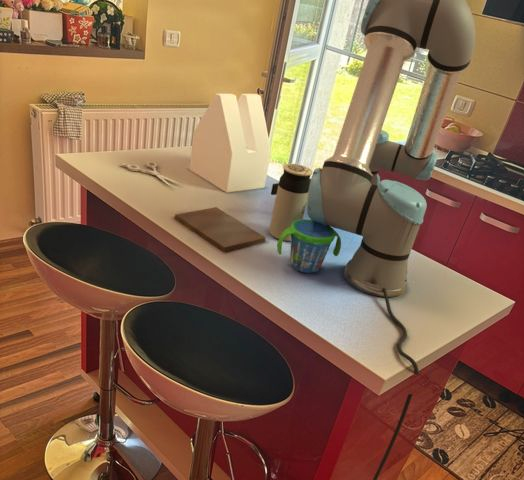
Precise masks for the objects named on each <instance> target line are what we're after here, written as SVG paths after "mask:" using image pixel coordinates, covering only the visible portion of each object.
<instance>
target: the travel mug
mask: <svg viewBox="0 0 524 480" xmlns="http://www.w3.org/2000/svg"><path fill="white" fill-rule="evenodd" d="M282 169H283V174H281V176H280V177H279V181H278V183H279V185H278V190H277V194H276V195H275V201H274V206H273V209H272V214H271V215H272V216H271V220H270V226H269V230H268V233H269V234H270V235H271V236H272V237H274V238H276V239H277V240H279V238H280V236H281V235H282V233H283V232H284V231H285V230H286V229H288V228H290V227H291V225H292V223H293V222H294V221H296V220H300V219H304V215H305V211H306V208H307V199H308V191H309V186H310V180H309V179H310V178H311V177H312V175H313V172H314V171H313V170H312V169H311V168H309V167H308V166H306V165H304V164H303V165H302V164H298V163H285V164H283V166H282ZM283 241H285V242H291V234H289V235H288V236H287V237H286V238H284V239H283Z"/></svg>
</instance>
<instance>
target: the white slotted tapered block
mask: <svg viewBox="0 0 524 480" xmlns="http://www.w3.org/2000/svg"><path fill="white" fill-rule="evenodd" d="M203 113H204V114H203V115H202V116H201V118H200V119H199V122H198V124H197V125H196V127H195V129H194V131H193V133H192V143H191V153H190V161H189V170H190V171H191V172H193V173H194V174H196V175H197V176H199V177H201V178H202V179H204V180H206V182H209V183H211V184H212V185H214V186H215V187H217V188H219V190H222V191H223V192H225V193H234V192H243V191H250V190H256V189H263V188H266V180H267V175H268V172H269V171H268V170H269V165H270V159H271V154H272V148H271V143H270V138H269V132H268V126H267V121H266V117H265V111H264V106H263V101H262V96H261V95H260V94H258V93H241V94H240V96H239V97H238V98H237V95H236V94H233V93H215V95H214V96H213V98H212V99H211V101H210V103H209V105H208V107H207V108H206V110H205V112H203Z"/></svg>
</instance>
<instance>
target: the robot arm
mask: <svg viewBox="0 0 524 480" xmlns="http://www.w3.org/2000/svg"><path fill="white" fill-rule="evenodd" d="M364 11H365V12H364V14H363V16H362V19H361V24H360V33H361V34H362V35H363V36H364V38H363V45H364V46H365V48H366V53H365V56H364V60H363V63H362V66H361V69H360V72H359V76H358V78H357V81H356V84H355V88H354V91H353V93H352V96H351V100H350V103H349V106H348V109H347V112H346V115H345V119H344V122H343V124H342V127H341V131H340V133H339V137H338V138H337V139H338V140H337V143H336V145H335V149H334V152H333V155H332V156H329V158H327V159H325V160H324V161H323V164H322V167H318V168H315V169H313V171H312V172H313V173H312V175H311V176H310V178H309V180H310V186H309V191H308V198H307V203H306V212H307V217H308V219H311V220H313V221H316V222H319V223H321V224H323V225H325V226H326V225H328V226H330V227H332V228H333V229H334V228H335V229H338V230H341V231H345V232H347V233H350V234H355V235H357V236H360V237H362V238H361V242H360V244H359V246H358V248H357V250H356V251H355V252H354V253H353V255H352V258H351V259H349V261H347V263H346V265H345V268H344V271H343V276H344V278H345V280H346V282H348V284H350V285H351V286H352V287H354V288H355V289H356V290H359V291H361V292H363V293H366V294H368V295H373V296H376V297H381V298H384V301H385V306H386V310H387V313H388V316H389V317H390V319H391V320H392V321H393V322H394V323H395V324H396V325H397V326H398V327H399V328H400V330H401V332H402V337H401V338H400V339H399V341H398V342H397V345H396V349H397V352H398V354H399V355H400V356H401V357H403V358H404V359H406V360H407V361H409V363H411V365H412V367H413V371H414V372H413V373H414V374H415V375H416V376H419V375H420V371H419V367H418V363H417V362H416V361H415V359H414V358H413V357H411V356H410V355H408V354H407V353H406V352H404V351H403V350H402V345H403V344H404V342H405V340H406V339H407V337H408V332H407V329H406V327H405V326H404V324H403V323H402V322H401V321H400V320H399V319H398V318H397V317H396V316H395V315H394V313H393V311H392V308H391V303H390V299H389V298H394V297H398V296H401V295H402V294H403V293H404V292H405V290H406V287H407V285H408V260H409V257H410V254H411V252H412V250H413V246H414V243H415V241H416V238H417V235H418V234H419V233H418V232H419V230H420V227H421V225H422V224H423V222H424V216H425V214H426V210H427V206H428V205H427V201H426V199H425V197H424V196H423V195H422V194H421V193H420V192H418V191H417V190H416V189H414V188H413V187H411V186H409V185H408V184H405V183H402V182H399V181H396V180H391V179H383V180H381V177H380V175H379V170H380V169H381V170H385V171H388V172H393V173H396V174H400V175H402V176H406V177H409V178H412V179H417V180H421V181H428V180H430V179H431V177H432V174H433V171H434V169H435V166H436V163H437V161H438V157H439V156H438V154H437V153H434V149H435V146H436V143H437V140H438V138H439V134H440V132H441V130H442V127H443V124H444V121H445V118H446V116H447V113H448V111H449V107H450V105H451V102H452V100H453V97H454V93H455V91H456V89H457V86H458V83H459V80H460V77H461V74H462V73H463V72H464V71H465V70H466V69H468V67H469V66H470V63H471V61H472V58H473V55H474V52H475V46H476V25H475V19H474V15H473V11H472V10H471V8H470V6H469V4H468V2H467V1H466V0H368V1H367V4H366V6H365V9H364ZM416 49H423V50H428V53H427V57H426V58H427V62H428V68H427V71H426V74H425V78H424V81H423V83H422V88H421V91H420V93H419V97H418V101H417V105H416V107H415V111H414V114H413V118H412V121H411V124H410V127H409V131H408V133H407V137H406V141H405V144H401V143H398V142H396V141H395V142H394V141H391V140H389V137H390V135H389V133H388V131H385V130H383V126H384V123H385V120H386V117H387V114H388V111H389V109H390V106H391V102H392V100H393V97H394V93H395V90H396V88H397V84H398V81H399V79H400V76H401V73H402V70H403V67H404V64H405V62H406V61H409V60H410V59H411V58H413V57H414V55H415V53H416ZM278 185H279V182H278V183H272V185H271V191H270V195H271V196H276V195H277V190H278ZM413 395H414V393H408V394H407V396H406V399H405V403H404V406H403V408H402V411H401V414H400V417H399V419H398V422H397V425H396V427H395V429H394V432H393V434H392V437H391V439H390V442H389V443H388V446H387V448H386V451H385V452H384V455H383V457H382V458H381V461H380V464H379V466H378V468H377V470H376V472H375V474H374V476H373V479H372V480H378V478H379V476H380V474H381V472H382V470H383V468H384V466H385V464H386V461H387V459H388V457H389V455H390V453H391V451H392V449H393V447H394V444H395V442H396V439H397V437H398V435H399V433H400V430H401V427H402V425H403V422H404V420H405V417H406V415H407V412H408V409H409V407H410V404H411V400H412V397H413Z"/></svg>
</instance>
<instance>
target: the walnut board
mask: <svg viewBox="0 0 524 480" xmlns="http://www.w3.org/2000/svg"><path fill="white" fill-rule="evenodd" d="M174 219H175V220H176V221H178V222H179V223H180V224H181V225H183V226H185V227H186V228H188V229H189V230H191V231H192V232H194V233H195V234H197V235H198V236H199V237H202V238H203V239H204V240H206V241H207V242H209V243H210V244H212V245H213V246H214V247H215V248H217V249H219V250H221V251H222V252H223V253H224V252H228V251H233V250H236V249H237V250H238V249H242V248H245V247H249V246H254V245H257V244H261V243H264V242H266V236H264V235H262V234H261V233H259V232H257V231H256V230H254V229H252V228H251V227H249V226H248V225H246V224H244V223H243V222H241V221H240V220H238V219H236V218H234V217H233V216H232V215H230V214H228V213H227V212H225V211H223V210H222V209H220V208H219V207H217V206H214V207H209V208H203V209H198V210H192V211H187V212H182V213H175V214H174Z"/></svg>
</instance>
